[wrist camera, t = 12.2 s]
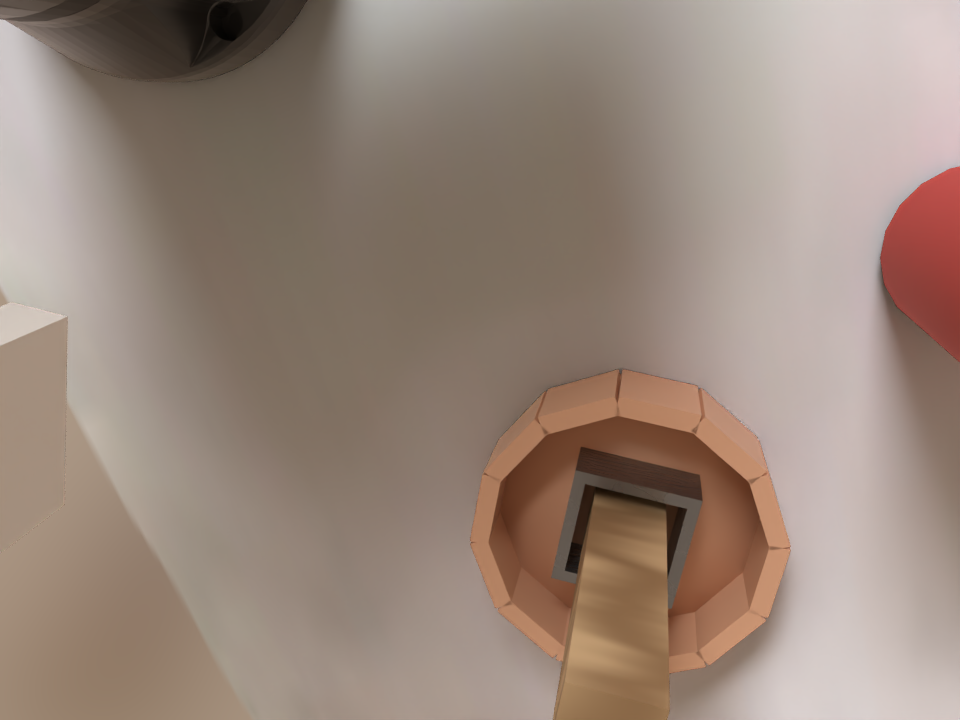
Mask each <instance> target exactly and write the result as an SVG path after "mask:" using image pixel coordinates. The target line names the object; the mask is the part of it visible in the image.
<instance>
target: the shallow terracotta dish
mask: <svg viewBox="0 0 960 720" xmlns="http://www.w3.org/2000/svg"><path fill="white" fill-rule="evenodd" d="M581 447H585V448H589V449H593V450H597V451H602V452H606V453H610V454H614V455H618V456H623V457H627V458H631V459H635V460H639V461H644V462H648V463H652V464H656V465H660V466H665V467H669V468H673V469H677V470H682V471H686V472H690V473H694V474H698V475H700V480H701V490H702V499H703V502H702V505H701V509H700V512H699V516H698V519H697V523H696V526H695V530H694V533H693V537H692V540H691V544H690V547H689V551H688V554H687V558H686V561H685V564H684V568H683V571H682V575H681V578H680V582H679V585H678V589H677V592H676V596H675V599H674V603H673V606H672V609H669V608H668V641H669V673H674V672H680V671H686V670H692V669H697V668H703V667H706V664H705V662H706V663H707V664H708V665H711V664H712V663H713V662H714V661H716V660H717V659H718V658H720V657H721V656H722V655H723V654H725V653H726V652H727V651H728V650H730V649H731V648H732V647H733V646H735V645H736V644H737V643H739V642H740V641H741V640H742V639H744V638H745V637H746V636H747V635H749V634H750V633H751V632H753V631H754V630H755V629H756V628H758V627H759V626H760V625H761V624H763V623H764V622H765V621H766V618H765V617H767V618H768V617H769V614H770V611H771V608H772V605H773V602H774V599H775V596H776V593H777V590H778V587H779V584H780V581H781V578H782V575H783V572H784V569H785V566H786V563H787V560H788V557H789V554H790V551H791V550H790V547H791V546H790V542H789V539H788V535H787V532H786V529H785V525H784V522H783V518H782V515H781V512H780V508H779V505H778V501H777V498H776V495H775V491H774V488H773V485H772V481H771V478H770V475H769V471H768V468H767V465H766V461H765V458H764V455H763V451H762V448H761V445H760V441H759V440H758V438H757V436H755V435H754V434H753V433H752V432H751V431H750V430H749V429H748V428H746V427H745V426H744V425H743V424H742V423H741V422H740V421H738V420H737V419H736V418H735V417H734V416H733V415H732V414H731V413H729V412H728V411H727V410H726V409H725V408H724V407H723V406H721V405H720V404H719V403H718V402H717V401H716V400H715V399H714V398H712V397H711V396H710V395H709V394H708V393H707V392H706V391H704V390H703V389H702V388H700V389H699V390H698V386H696V385H692V384H687V383H683V382H678V381H674V380H669V379H665V378H661V377H656V376H652V375H647V374H643V373H638V372H634V371H629V370H625V369H623V370H622V374H620V371H619V369H617V370H614V371H610V372H607V373H603V374H600V375H596V376H592V377H589V378H585V379H582V380H578V381H575V382H571V383H568V384H564V385H560V386H557V387H553V388H550V389H548V391H547V392H546V391H544V393H543V394H542V395H541V396H540V397H539V398H538V399H537V400H536V401H535V402H534V403H533V404H532V405H531V406H530V407H529V408H528V409H527V410H526V411H525V412H524V413H523V414H522V415H521V417H520V418H519V419H518V420H517V421H516V422H515V423H514V424H513V425H512V426H511V427H510V428H509V429H508V430H507V431H506V432H505V433H504V434H503V435H502V436H501V437H500V438H499V440H498V442H497V444H496V446H495V448H494V450H493V453H492V455H491V457H490V459H489V461H488V463H487V466H486V468H485V470H484V472H483V474H482V479H481V484H480V490H479V495H478V500H477V505H476V511H475V516H474V521H473V527H472V532H471V537H470V541H471V544H470V545H471V548H472V550H473V553H474V555H475V558H476V560H477V563H478V566H479V568H480V571H481V573H482V576H483V578H484V581H485V583H486V586H487V588H488V591H489V594H490V596H491V599H492V601H493V604H494V606H495V608H498V607H499V608H498V612H499V613H500V614H501V615H503V616H504V617H505V618H506V619H507V620H508V621H510V622H511V623H512V624H513V625H514V626H515V627H517V628H518V629H519V630H520V631H521V632H522V633H524V634H525V635H526V636H527V637H528V638H530V639H531V640H532V641H533V642H534V643H535V644H537V645H538V646H539V647H540V648H541V649H542V650H544V651H545V652H546V653H547V654H548V655H549V656H551V657H552V658H553V657H554V656H555V655H556V654H557V657H556V660H558V661H562V662H563V656H564V650H565V644H566V638H567V632H568V626H569V621H570V615H571V609H572V603H573V597H574V591H575V585H576V584H573V583H569V582H566V581H562V580H558V579H554V578H551V576H552V571H553V567H554V562H555V558H556V553H557V549H558V544H559V540H560V535H561V531H562V527H563V522H564V518H565V514H566V509H567V505H568V500H569V496H570V492H571V487H572V483H573V479H574V474H575V470H576V466H577V461H578V457H579V452H580V448H581ZM594 489H595V486H591V485H587V484H585V487H584V491H583V495H582V499H581V504H580V508H579V512H578V516H577V521H576V525H575V529H574V533H573V538H572V542H573V543H577V544H581V545H582V544H583V538H584V532H585V528H586V524H587V519H588V515H589V511H590V506H591V502H592V498H593V493H594ZM677 511H678V507H677V506H673V505H669V504H666V531H667V547H668V543H669V539H670V536H671V532H672V529H673V525H674V522H675V518H676V514H677Z"/></svg>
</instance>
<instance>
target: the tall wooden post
mask: <svg viewBox="0 0 960 720" xmlns="http://www.w3.org/2000/svg"><path fill="white" fill-rule="evenodd" d="M669 711H670V695H669V641H668V586H667V531H666V504H665V503H661V502H657V501H653V500H649V499H644V498H640V497H636V496H632V495H628V494H624V493H620V492H616V491H612V490H608V489H603V488H599V487H595V489H594V493H593V498H592V502H591V506H590V511H589V515H588V519H587V524H586V528H585V532H584V538H583V544H582V550H581V555H580V561H579V567H578V573H577V579H576V585H575V591H574V597H573V603H572V609H571V615H570V621H569V626H568V632H567V638H566V644H565V650H564V656H563V662H562V668H561V674H560V680H559V686H558V691H557V697H556V703H555V709H554V715H553V720H667V718H668V714H669Z"/></svg>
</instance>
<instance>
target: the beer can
mask: <svg viewBox="0 0 960 720" xmlns="http://www.w3.org/2000/svg"><path fill="white" fill-rule="evenodd" d="M880 260H881V267H882V273H883V280H884V285H885V286H886V288H887V290H888V292H889V294H890V295H891V297H892V299H893V301H894V303H895V304H896V306H897V307H898V308H899V309H900V310H901V311H902V312H903V313H905V314H906V315H907V316H908V317H909V318H910V319H911V320H912V321H914V322H915V323H916V324H917V325H918V326H919V327H920V328H921V329H923V330H924V331H925V332H926V333H927V334H928V335H929V336H930V337H932V338H933V339H934V340H935V341H936V342H937V343H938V344H939V345H941V346H942V347H943V348H944V349H945V350H946V351H947V352H948V353H950V354H951V355H952V356H953V357H954V358H955V359H956V360H957V361H959V362H960V166H959V167H955V168H951V169H948V170H946V171H944V172H943V173H941V174H939V175H937V176H935V177H934V178H932V179H930V180H928V181H926V182H924V183H923V184H921V185H920V186H919V187H918V188H917V189H916V190H915V191H914V192H913V193H912V194H911V195H910V196H909V197H908V198H907V199H906V200H905V201H904V202H903V203H902V204H901V205H900V206H899V208H898V209H897V211H896V213H895V215H894V217H893V218H892V220H891V222H890V224H889V226H888V227H887V229H886V231H885V236H884V241H883V246H882V252H881V257H880Z"/></svg>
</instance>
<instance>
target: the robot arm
mask: <svg viewBox="0 0 960 720" xmlns="http://www.w3.org/2000/svg"><path fill="white" fill-rule="evenodd" d="M306 1H307V0H0V19H3V20H6V21H8V22H9V23H11V24H13V25H14V26H16V27H18V28H19V29H21V30H23V31H24V32H26V33H28V34H29V35H31V36H33V37H34V38H36V39H38V40H39V41H41V42H43V43H44V44H46V45H48V46H49V47H51V48H53V49H54V50H56V51H58V52H59V53H61V54H63V55H64V56H66V57H68V58H69V59H71V60H73V61H75V62H77V63H79V64H81V65H83V66H86V67H88V68H91V69H93V70H96V71H99V72H102V73H105V74H109V75H112V76H116V77H120V78H125V79H131V80H138V81H158V82H187V81H196V80H202V79H207V78H211V77H214V76H218V75H221V74H224V73H226V72H229V71H231V70H234V69H236V68H238V67H240V66H242V65H244V64H245V63H247V62H249V61H250V60H252V59H254V58H255V57H256V56H258V55H259V54H260V53H262V52H263V51H265V50H266V49H267V48H268V47H269V46H270V45H271V44H273V43H274V42H275V41H276V40H277V39H278V38H279V37H280V36H281V35H282V34H283V33H284V32H285V30H286V29H287V28H288V27H289V26H290V24H291V23H292V22H293V20H294V19H295V18H296V16H297V15H298V13H299V12H300V11H301V9H302V7H303V6H304V4H305V2H306ZM67 325H68V316H64V315H60V314H56V313H52V312H48V311H44V310H41V309H37V308H33V307H29V306H25V305H21V304H17V303H14V302H11V303H8V304H6V305H4V306H0V553H2V552H3V551H4V550H6V549H7V548H8V547H10V546H11V545H12V544H14V543H15V542H16V541H18V540H19V539H20V538H22V537H23V536H24V535H26V534H27V533H28V532H30V531H31V530H32V529H34V528H35V527H36V526H38V525H39V524H40V523H42V522H43V521H44V520H46V519H47V518H48V517H50V516H51V515H52V514H53V513H55V512H56V511H57V510H59V509H60V508H61V507H63V506H64V505H65V452H66V448H65V447H66V388H67Z"/></svg>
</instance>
